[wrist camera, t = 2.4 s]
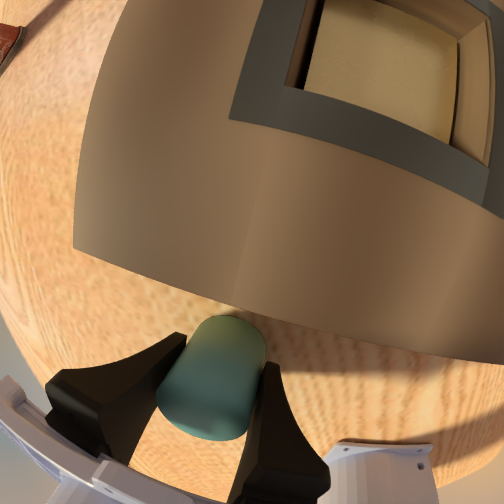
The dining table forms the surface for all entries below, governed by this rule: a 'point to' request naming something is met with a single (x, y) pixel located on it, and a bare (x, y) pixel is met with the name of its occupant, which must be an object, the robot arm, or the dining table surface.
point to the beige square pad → (386, 64)
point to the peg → (215, 380)
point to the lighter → (10, 43)
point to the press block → (298, 176)
